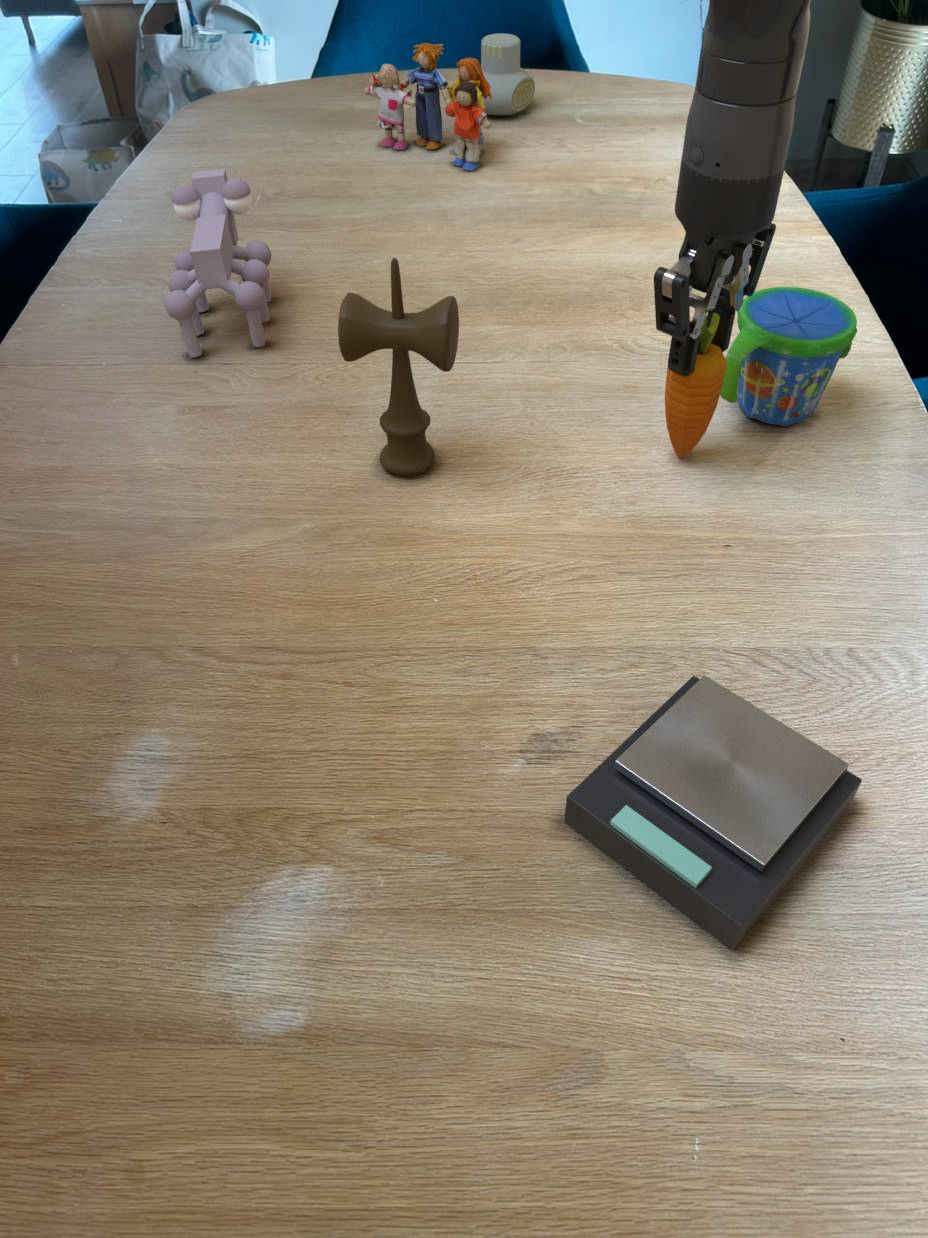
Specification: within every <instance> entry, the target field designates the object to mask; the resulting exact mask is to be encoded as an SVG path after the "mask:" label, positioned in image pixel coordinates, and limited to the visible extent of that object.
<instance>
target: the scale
mask: <svg viewBox="0 0 928 1238" xmlns="http://www.w3.org/2000/svg"><path fill="white" fill-rule="evenodd" d="M700 679H701V678H699V677H697V676H695V675H692V676H691V677H690V679H688V680H687V681H686V682H685V683H684V684H683V685H682V686H681V687H680V688H679V689H678V690H677V691H675V692H674V693H673V694H672V695H671V696H670V697H669V698H668V699H667V700H666V701H665V702H664V703H663V704H662V705H661V706H660V707H659V708H658V709H657V710H655V712H653V714H651V715H650V716H649V717H648V718H647V719H646V720H645V721H644V722H643V723H642V724H640V726H639V727H637V729H636V730H635V731H634V732H633V733H631V734H630V735H629V737H627V738H626V739H625V740H624V741H623V742H622V743H621V744H620V745H619V746H618V747H617V748H615V750H613V752H611V754H609V756H607V758H606V759H604V760H603V761H602V762H601V763H600V764H599V765H598V766H597V767H596V768H595V769H594V770H593V771H591V772H590V773H589V774H588V775H587V776H586V777H585V778H584V779H583V780H582V781H581V782H580V783H579V784H578V785H577V786H576V787H575V788H574V789H573V790H572V791H570V793H568V794H567V796H566V802H565V811H564V812H565V813H564V818H563V819H564V820H563V822H564V823H565V824H566V825H567V826H568V827H570V828H571V829H573V830H574V831H575V832H577V833H578V834H579V835H581V836H582V837H583V838H584V839H586V840H587V841H588V842H589V843H591V844H592V845H593V846H595V847H596V848H598V849H599V850H600V851H601V852H603V853H604V854H605V855H607V856H608V857H609V858H610V859H612V860H613V861H614V862H616V863H617V864H619V865H620V866H621V867H622V868H623V869H625V870H626V871H627V872H628V873H630V874H631V875H632V876H634V877H635V878H637V879H638V880H639V881H640V882H641V883H643V884H644V885H646V886H647V887H649V889H651V890H653V892H655V893H656V894H658V895H659V896H661V898H663V899H664V900H665V901H667V902H668V903H670V904H671V905H672V906H673V907H675V908H676V909H677V910H678V911H680V912H681V913H682V914H684V915H685V916H686V917H687V918H689V919H690V920H692V921H693V922H695V923H696V925H698V926H700V927H701V928H702V929H704V930H705V931H706V932H707V933H709V934H710V935H711V936H713V937H714V938H715V939H716V940H718V941H719V942H720V943H722V944H723V945H724V946H726V947H727V948H728V949H729V950H730V951H734V950H735V949H736V947H737V946H738V945H739V944H740V943H741V941H742V940H743V939H744V937H745V936H746V935H747V934H748V932H750V930H751V929H752V927H753V926H755V924H756V923H757V921H758V920H759V919H760V918H761V917H762V915H763V914H764V913H765V912H766V911H767V909H768V908H769V907H770V905H772V903H773V902H774V900H775V899H776V898H777V897H778V896H779V894H780V893H781V892H782V891H783V890H784V888H785V887H786V886H787V884H788V883H789V882H790V881H791V879H793V877H794V876H795V875H796V873H797V872H798V871H799V869H800V868H801V867H802V866H803V865H804V864H805V862H806V861H807V860H808V859H809V858H810V856H811V855H812V853H814V851H815V850H816V849H817V847H818V846H819V845H820V844H821V843H822V841H823V840H824V839H825V838H826V836H827V835H828V834H829V833H830V831H831V830H832V829H833V828H834V827H835V825H836V824H837V823H838V822H839V820H840V819H841V818H842V817H843V816H844V814H845V813H846V812H847V811H848V810H849V808H850V807H851V805H852V803H853V801H854V799H855V796H856V794H857V793H858V791H859V788H860V786H861V784H862V782H863V779H862V778H860V777H859V776H857V775H855V774H854V773H852V772H850V771H848V770H847V771H846V772H845V773H844V775H843V776H842V777H841V778H840V779H839V781H838V782H837V783H836V784H835V785H834V786H833V788H832V789H831V790H830V791H829V792H828V794H827V795H826V796H825V797H824V798H823V800H822V801H821V802H820V803H819V804H818V806H817V807H816V808H815V809H814V810H813V812H812V813H811V814H810V815H809V816H808V818H807V819H806V820H805V821H804V822H803V823H802V825H801V826H800V827H799V828H798V829H797V831H796V832H795V833H794V834H793V835H792V837H791V838H790V839H789V840H788V841H787V843H786V844H785V845H784V846H783V847H782V849H781V850H780V851H779V852H778V853H777V855H776V856H775V857H774V858H773V859H772V860H771V862H770V863H769V864H768V865H767V866H766V868H765V869H764V870H763V871H762V872H761V871H759V870H758V869H757V868H755V867H754V866H752V865H751V864H750V863H748V862H747V861H745V860H744V859H742V858H741V857H740V856H738V855H737V854H735V853H734V852H733V851H731V850H730V849H728V848H727V847H726V846H724V845H723V844H721V843H720V842H718V841H717V840H716V839H714V838H713V837H711V836H710V835H709V834H707V833H706V832H704V831H703V830H701V829H700V828H699V827H697V826H696V825H694V824H693V823H692V822H690V821H689V820H687V819H686V818H685V817H683V816H682V815H680V814H679V813H677V812H676V811H675V810H673V809H672V808H670V807H669V806H668V805H666V804H665V803H663V802H662V801H660V800H659V799H658V798H656V797H655V796H653V795H652V794H651V793H649V792H648V791H646V790H645V789H644V788H642V787H641V786H639V785H638V784H636V783H635V782H634V781H632V780H631V779H629V778H628V777H627V776H625V775H624V774H622V773H621V772H619V771H618V770H617V769H615V768H614V766H615V761H616V760H617V759H618V758H619V757H620V756H621V755H622V754H623V753H624V752H625V751H626V750H627V749H628V748H629V747H630V746H631V745H632V744H633V743H634V742H635V741H636V740H637V739H638V738H639V737H640V736H641V735H643V734H644V733H645V732H646V731H647V730H648V729H649V728H650V727H651V726H652V725H653V724H654V723H655V722H656V721H657V720H658V719H659V718H660V717H661V716H662V715H663V714H664V713H665V712H666V711H667V710H669V709H670V708H671V707H672V706H673V705H674V704H675V703H676V702H677V701H678V700H679V699H680V698H681V697H682V696H683V695H684V694H685V693H686V692H687V691H688V690H689V689H690V688H691V687H692V686H693V685H694V684H696V683H697V682H698V681H699V680H700Z"/></svg>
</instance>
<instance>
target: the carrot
mask: <svg viewBox="0 0 928 1238" xmlns="http://www.w3.org/2000/svg"><path fill="white" fill-rule="evenodd" d="M707 315H708V314H707ZM707 315H706V318H705V321H704V324H703V326H702V329H701V332H700V334H699V335H700V340H699V346H698V352H697V357H696V363H695V369H694V372H693V373H692V374H690V375H689V376H687V377H684V376H682V375H679V374H677V373H675V372H673V371H671V370H670V369H669V368H668V367H667V369H666V377H665V388H664V389H665V390H664V410H665V423H666V428H667V432H668V436H669V440H670V443H671V446H672V448H673V450H674V453H675V455H676V456H677V457H678V458H680V459H683V458H685V457H687V456H689V454H690V453H691V452H692V451H693V450H694V448H695V447H696V446H697V445H698V444H699V443H700V441H701V439H702V438H703V437H704V436H705V434H706V433H707V430H708V428H709V426H710V423H711V421H712V418H713V416H714V414H715V412H716V410H717V407H718V404H719V399H720V397H721V396H720V392H721V389H722V384H723V380H724V376H725V371H726V360H725V358H726V356H725V355H724V352H722V350H721V349H720V347H719V346H716V345H714V344H711V341H712V339H713V337H714V335H715V333H716V330H717V327H718V324H719V319H720V316H719V315H718V314H717V313H713V315H712V319H711V323H710V327H708V320H707Z"/></svg>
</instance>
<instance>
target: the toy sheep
mask: <svg viewBox="0 0 928 1238" xmlns="http://www.w3.org/2000/svg"><path fill="white" fill-rule="evenodd" d="M190 180H191V184H189V183H181V184H179V185H176V186H175V188H174V189H173V190H172V192H171V202H172V203H173V211H174V212H175V214H176V215H177V217H178V218H179V219H181V220H182V221H186V222H193V221H196V222H195V226H194V231H193V235H192V240H191V245H190V248H184V249H181V250H179V252H178V253H177V254H176V255H175V258H174V266H175V269H176V270H174V271H173V272H172V273H171V275H170V276H169V278H168V282H167V283H168V285H167V286H168V290H169V291H170V292H169V293H168V294H167V296H166V297H165V300H164V308H165V311H166V313H167V314H168V316H169V317H171V318H172V319H173V320H176V321H177V322H178V325H179V328H180V331H181V334H182V337H183V340H184V343H185V346H186V349H187V352H188V355H189V358H198V357H200V356H202V354H203V351H202V348H201V344H200V342H199V339H198V336H201V335H203V334H204V333H205V328H204V324H203V322H202V319H201V316H200V313H203V312H206V311H209V310H210V305H209V302H208V298H207V296H206V293H205V292H206V291H207V290H211V289H212V290H213V289H221V290H223V291H225V292H227V293H228V294H230V295H232V296H233V297H234V300H235V302H236V305H237V306H238V308H240V309H241V310H242V311H245V313H246V319H247V324H248V329H249V333H250V339H251V343H252V345H253V346H254V347H256V348H261V347H264V346H265V345H266V340H265V335H264V334H265V333H264V329H263V324H262V323H267V322H269V321H270V319H271V318H270V311H269V306H268V303H269V302H272V293H271V288H270V287H271V286H270V276H271V275H270V270H269V268H268V266H269V265H270V263H271V262H272V251H271V249H270V246H268V244H267V243H265V242H264V241H262V240H252V241H249V242H248V243H246V245H245V246H240V245H238V241H239V235H238V229H237V225H236V219H235V215H237V216H238V215H244V214H247V213H248V212H249V211H250V210H251V208H252V206H253V195H252V191H251V188H250V185H249V184H248V183H247V182H246V181H245V180H244V179H242V178H239V177H232V178H230V179H228V174H227V169H226V168H219V169H210V170H201V171H193V172H192V175H191V178H190ZM240 260H241V261H240ZM243 261H245V262H243ZM232 274H235V275H239V276H240V277H241V280H242V282H241V283H239V282H238V281H236V280H234V279H232Z"/></svg>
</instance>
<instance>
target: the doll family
mask: <svg viewBox="0 0 928 1238" xmlns="http://www.w3.org/2000/svg"><path fill="white" fill-rule="evenodd" d="M443 46H444V44H443V43H441V44H440V43H438V44H437V43H435V44H433V43H428V42H423V43H420V44H416V45H414V46H413V48H415V49H414V50H413V52H412V53H413V54H415V55H413V57H412V61H413V62H416V63H418V64H419V65H420V66H418V67H416V68H414V69H411V70H409V71H406V76H407V78H404V79H403V80H402V81H401V79H400V74H399V73H398V69H397V67H395V66H394V65H393V64H390V63H383V64H382V65H381V67H380V69H379V72H378V73H376V74H374V73H371V77H370V78H369V81H368V82H369V85H368V86H366V87H365V88H364V91H363V92H364V94H365V95H366V96H370V97H372V98H375V99H377V100H378V109H377V117H378V119H377V122H376V127H377V128H378V127H380V129H381V128H382V129H384V132H385V138H384V139H383V140H382V141H381V144H380V145H381V147H383V148H393V149H394V150H396V151H405V150H407V149H408V148H409V143H408V141H407V140H406V131H405V129H406V128H405V124H404V122H405V109H404V105H407V106H409V107H411V108H415V127H416V128H415V129H416V135H417V136H418V138H417V139H416V141H415V145H417V146H419V147H425V149H427V150H437V149H438V148H440V147H442V146H443V142H442V141H443V140H444V137H443V118H442V107H441V98H440V97H441V96H440V95H442V97H443V100H444V101H445V106H444V114H445V115H446V116H447V117H450V118H455V119H454V123H453V137H454V139H455V141H456V142H455V143H456V147H455V148H454V153H455V154H456V158H455V159H454V161H453V166H455V167H461V168H462V170H463V171H466V172H474V171H476V170H477V169H479V167H480V163H479V161H480V155H481V153H482V152H481V149H480V146H482V145H487V142H486V140H485V136H484V132H483V130H482V127H483V128H484V129H485V130H489V129H490V128H491V127H492V123H491V121H489V120H488V114H486V113H484V111H485V109H486V108H485V105H484V102H483V98H482V97H484V99H485V100H486V99H487V97H488V96H489V97H490V100H492V98H493V97H492V94H491V92H490V88H491V86H490V85H489V83H488V82H487V80H486V79H485V77H484V74H483V72H482V68H481V62H480V61H479V60H478V59H477V58H474V57H465V58H463V59H460V60H459V61H458V62H457V63H456V66H457V70H458V73H457V79H456V80H455V81H453V82H452V84H450V85H449V83H448V81H447V79H446V78H445V76H444V75H443V73H442V72H441V71H440V70H438V69H436V68H437V67H438V65H437V63H438V61H439V60H440V55H444V53H443V50H445V48H444V47H443ZM414 84H416V90H415V95H414V99H413V98H412V95H413V93H412V92H413V90H412V89H411V87H409V86H410V85H414ZM394 86H395V87H394ZM440 93H441V94H440ZM393 131H395V132H397V140H396V138H395V137H394V135H393Z"/></svg>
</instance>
